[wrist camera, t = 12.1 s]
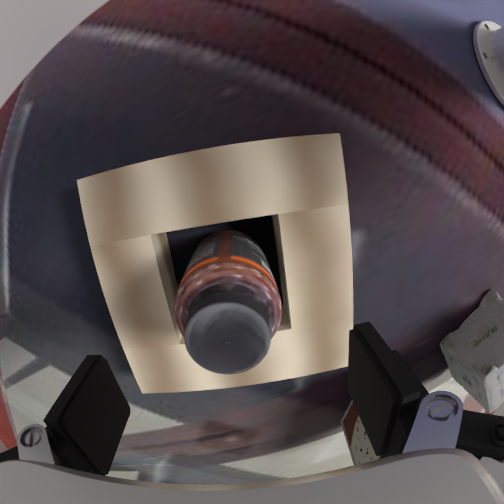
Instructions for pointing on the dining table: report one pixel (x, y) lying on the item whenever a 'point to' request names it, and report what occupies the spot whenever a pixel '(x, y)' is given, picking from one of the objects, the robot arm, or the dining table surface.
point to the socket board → (218, 211)
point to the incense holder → (479, 352)
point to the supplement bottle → (228, 304)
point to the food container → (357, 437)
